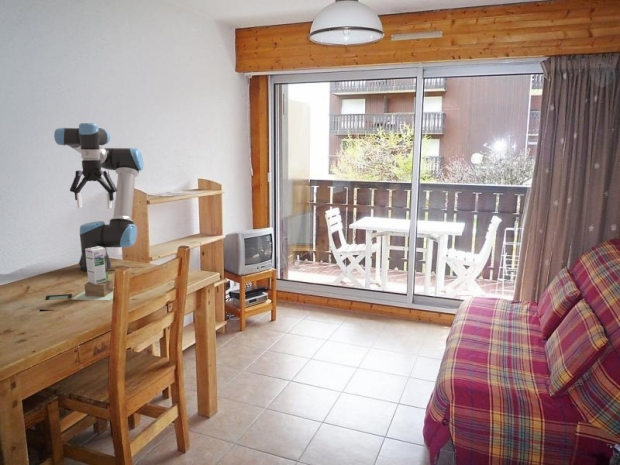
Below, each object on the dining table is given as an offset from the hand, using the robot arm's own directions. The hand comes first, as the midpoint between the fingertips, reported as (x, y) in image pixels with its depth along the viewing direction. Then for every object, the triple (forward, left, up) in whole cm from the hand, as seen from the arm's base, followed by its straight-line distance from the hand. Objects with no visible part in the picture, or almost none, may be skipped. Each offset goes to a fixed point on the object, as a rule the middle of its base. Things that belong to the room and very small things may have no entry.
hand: (95, 208), depth 212 cm
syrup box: (+19, +9, -28) cm, 35 cm away
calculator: (+30, -3, -35) cm, 46 cm away
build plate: (+19, +9, -35) cm, 40 cm away
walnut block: (+19, +9, -33) cm, 39 cm away
